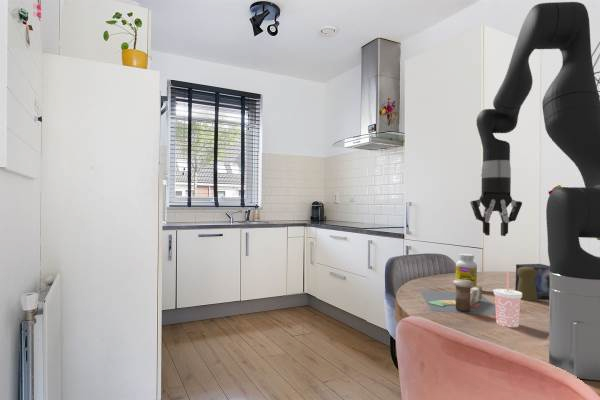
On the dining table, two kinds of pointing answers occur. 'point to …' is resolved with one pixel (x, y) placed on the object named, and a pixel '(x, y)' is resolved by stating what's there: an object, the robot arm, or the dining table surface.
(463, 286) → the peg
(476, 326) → the dining table surface
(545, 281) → the small box
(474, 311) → the grey flat slab
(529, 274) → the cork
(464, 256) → the supplement bottle
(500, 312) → the beverage cup
